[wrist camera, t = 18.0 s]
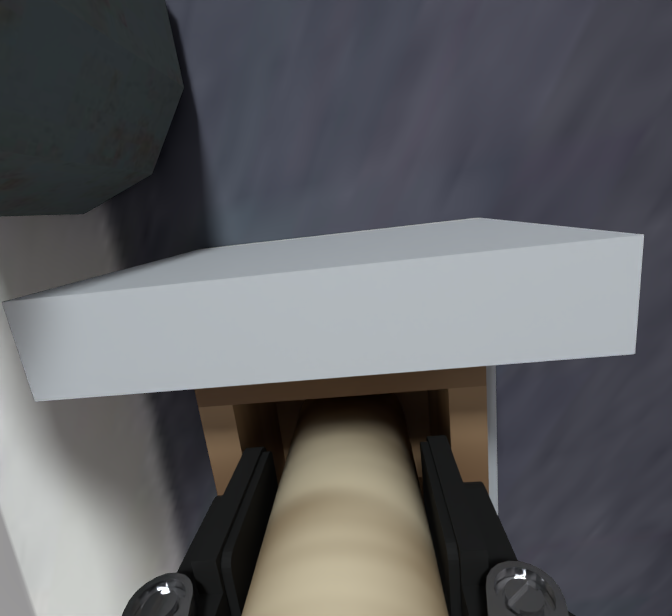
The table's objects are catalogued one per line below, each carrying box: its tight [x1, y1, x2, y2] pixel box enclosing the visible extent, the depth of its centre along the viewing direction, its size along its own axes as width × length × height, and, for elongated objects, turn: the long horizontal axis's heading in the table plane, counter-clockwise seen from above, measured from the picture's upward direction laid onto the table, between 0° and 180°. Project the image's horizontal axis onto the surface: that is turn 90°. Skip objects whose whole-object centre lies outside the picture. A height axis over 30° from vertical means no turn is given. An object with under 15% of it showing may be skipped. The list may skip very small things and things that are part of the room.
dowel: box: [242, 393, 449, 616], centre depth 9 cm, size 4×4×12 cm
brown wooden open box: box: [194, 366, 489, 501], centre depth 14 cm, size 9×8×5 cm
